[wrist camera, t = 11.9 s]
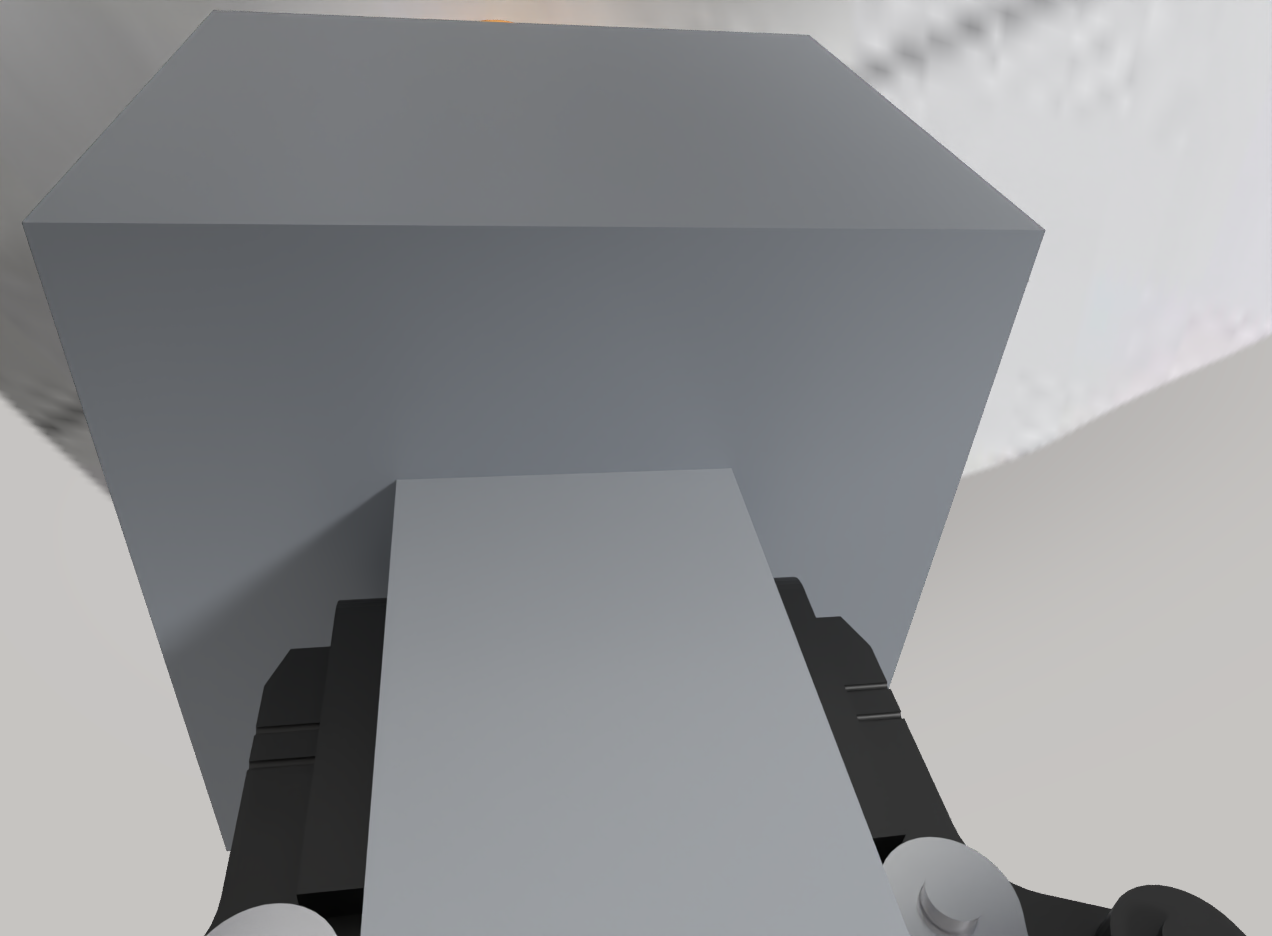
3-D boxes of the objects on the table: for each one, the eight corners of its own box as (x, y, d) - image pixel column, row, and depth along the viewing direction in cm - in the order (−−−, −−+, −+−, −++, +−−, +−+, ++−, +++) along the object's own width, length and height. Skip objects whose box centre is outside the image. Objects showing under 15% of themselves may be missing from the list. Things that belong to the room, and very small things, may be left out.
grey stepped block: (808, 35, 17) (1538, 637, 6) (735, 481, 23) (1012, 1216, 12) (213, 10, 16) (-488, 786, 4) (299, 497, 22) (119, 1371, 10)
